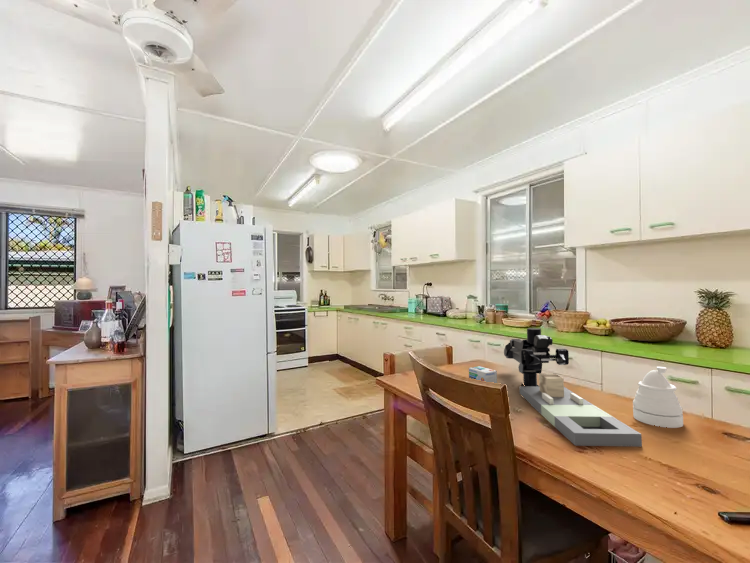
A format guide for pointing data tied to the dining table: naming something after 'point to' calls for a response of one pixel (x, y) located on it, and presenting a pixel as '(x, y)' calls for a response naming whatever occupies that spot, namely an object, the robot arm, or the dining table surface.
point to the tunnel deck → (581, 419)
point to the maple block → (551, 384)
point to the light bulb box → (483, 374)
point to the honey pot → (657, 401)
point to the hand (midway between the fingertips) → (552, 361)
